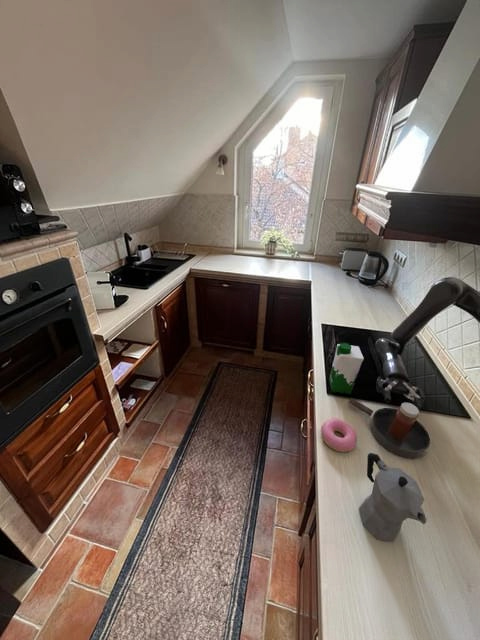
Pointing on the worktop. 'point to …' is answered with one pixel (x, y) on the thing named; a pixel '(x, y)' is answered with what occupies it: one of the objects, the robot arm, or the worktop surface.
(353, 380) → the milk carton
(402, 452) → the pan
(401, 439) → the shaker
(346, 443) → the doughnut
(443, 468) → the worktop surface
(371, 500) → the coffeepot
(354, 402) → the pan handle
